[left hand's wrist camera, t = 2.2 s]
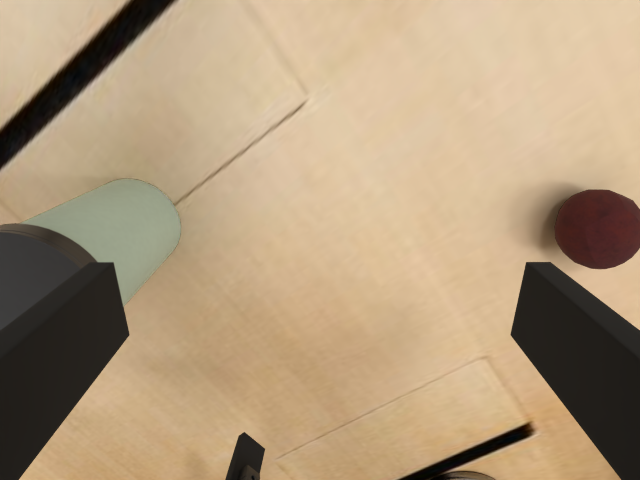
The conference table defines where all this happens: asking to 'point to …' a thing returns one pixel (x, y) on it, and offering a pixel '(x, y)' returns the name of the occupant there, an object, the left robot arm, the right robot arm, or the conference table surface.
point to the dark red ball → (598, 228)
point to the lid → (34, 266)
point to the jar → (120, 228)
